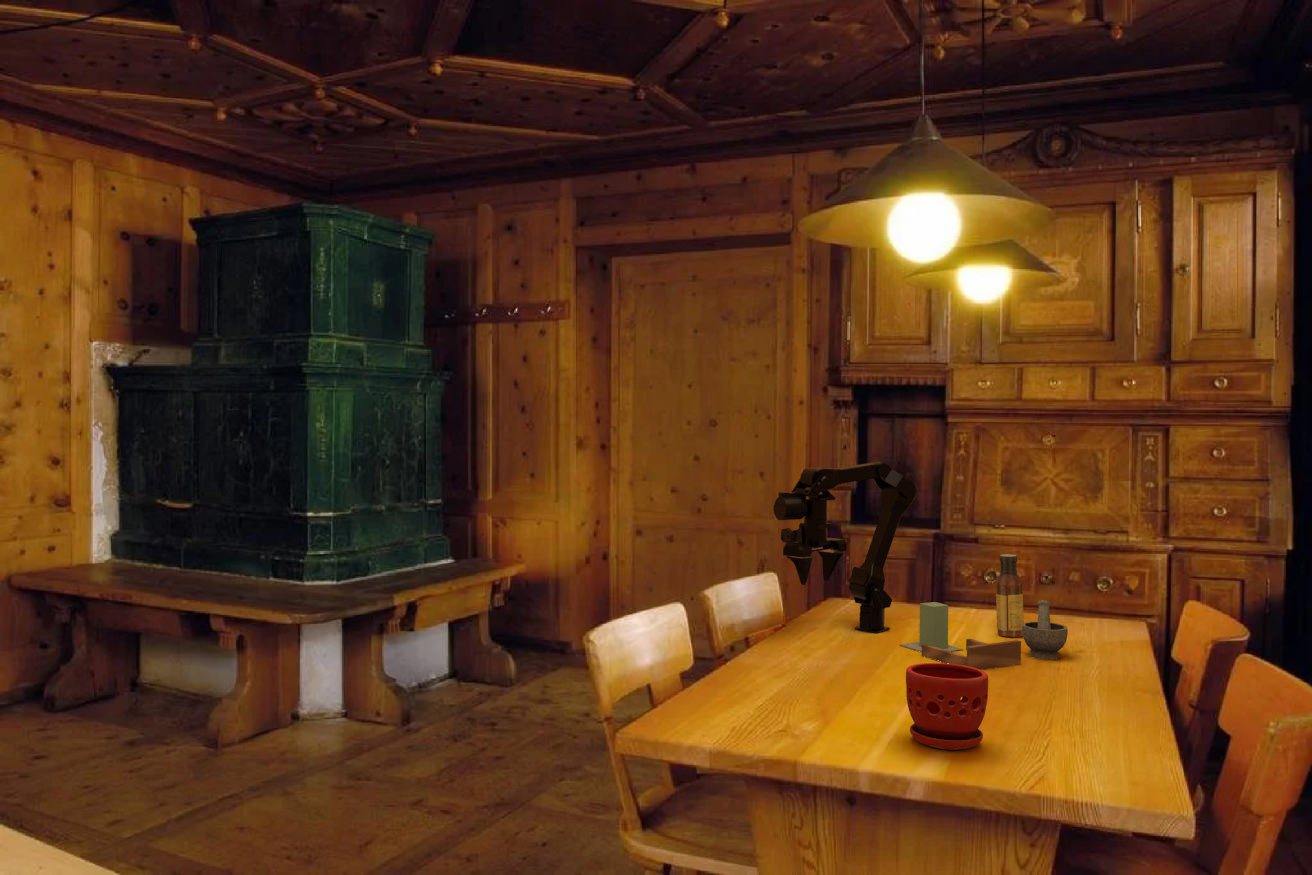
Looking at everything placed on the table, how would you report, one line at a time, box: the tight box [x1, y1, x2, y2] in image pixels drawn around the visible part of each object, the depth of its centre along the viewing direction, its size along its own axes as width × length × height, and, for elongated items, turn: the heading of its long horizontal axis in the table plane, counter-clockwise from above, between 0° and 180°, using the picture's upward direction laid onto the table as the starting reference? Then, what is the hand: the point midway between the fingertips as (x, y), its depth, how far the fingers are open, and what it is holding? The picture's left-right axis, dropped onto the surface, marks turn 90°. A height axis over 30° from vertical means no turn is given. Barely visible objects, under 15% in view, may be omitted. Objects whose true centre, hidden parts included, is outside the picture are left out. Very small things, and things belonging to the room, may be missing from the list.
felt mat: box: [899, 641, 964, 653], centre depth 232 cm, size 10×10×1 cm
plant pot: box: [905, 662, 989, 752], centre depth 165 cm, size 13×13×12 cm
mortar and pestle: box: [1022, 599, 1069, 661], centre depth 224 cm, size 11×9×12 cm
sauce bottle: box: [995, 553, 1025, 638], centre depth 245 cm, size 7×6×20 cm
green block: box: [918, 601, 949, 649], centre depth 231 cm, size 4×4×10 cm
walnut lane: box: [921, 638, 1022, 671], centre depth 220 cm, size 15×14×5 cm
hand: (814, 582), depth 244 cm, fingers open, 9 cm apart
